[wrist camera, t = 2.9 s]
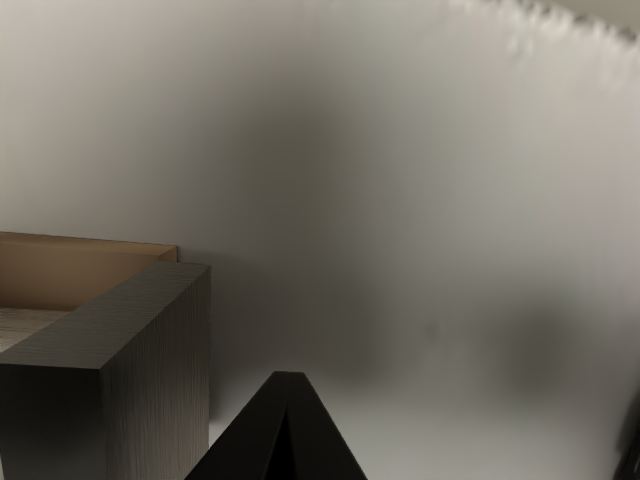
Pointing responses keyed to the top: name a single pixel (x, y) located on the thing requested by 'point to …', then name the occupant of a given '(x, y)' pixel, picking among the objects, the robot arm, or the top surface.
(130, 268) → the frame
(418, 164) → the top surface
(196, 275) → the box with dark endplate
